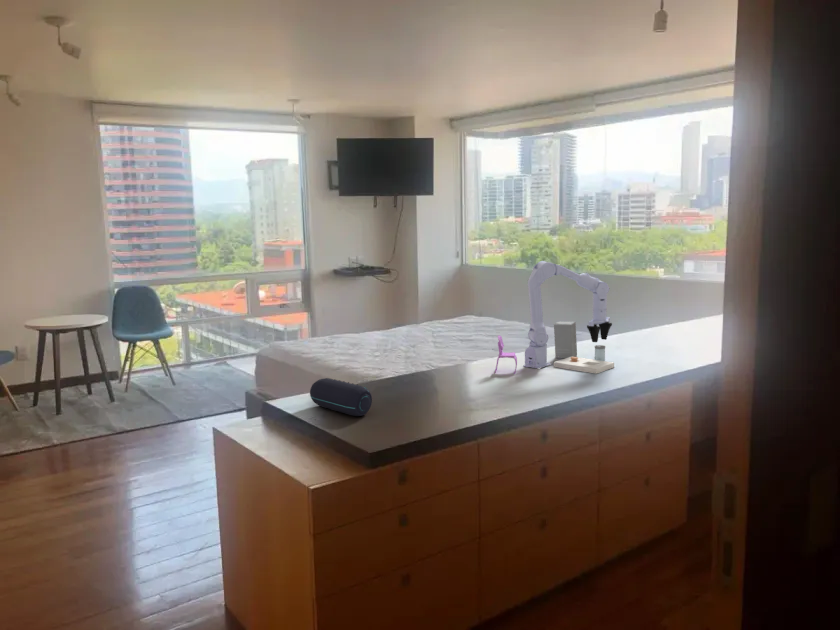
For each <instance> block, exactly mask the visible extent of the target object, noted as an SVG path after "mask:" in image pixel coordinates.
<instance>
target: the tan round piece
mask: <svg viewBox="0 0 840 630" xmlns="http://www.w3.org/2000/svg"><path fill="white" fill-rule="evenodd" d="M577 359H578V356H576V357H571V361H572V362H577Z"/></svg>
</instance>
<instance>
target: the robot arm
mask: <svg viewBox="0 0 840 630" xmlns="http://www.w3.org/2000/svg"><path fill="white" fill-rule="evenodd" d="M560 275H561V276H563V277H565V278H568V279H570V280H572V281H574V282H576V285H577V286H578V287H581V288H582V289H585V290H587V291H590V292H592V319H591V320H589V321H588V324H587V325H586V328H587V330H588V332H589V334H590V338H591V342H592V343H598V341H599V334H600V339H601V340H603V341H604V340H607V338H608V335H609V332H610V329H611V327H612V325H613V323H612V322H611V317H610V316H607V315H608V314H607V312H608V311H607V309H608V294H609V292H610V287H609V285H608V282H606V281H602V280H600V278H598V277H594V276H591V275H590V273H588V272H585V273H584V272H582V273H580V274H579V273H578V272H575V271H573V270H571V269H569V268H567V267H565V266H563V265H561V264H560V265H559V264H557V263H553V262H551V261H549V262H548V261H545V260H541V261H538V262H537V263H536V264H535V265H534V266H533V267H532V271H531V274H529V278H528V280H527V287H528V288H527V289H528V299H529V302H528V303H529V313H530V324H529V331H528V332H527V333H528V334H527V337H528V339H529V346H528V347H526V349H525V350H524V364H523V367H527V368H533V369H542V368H544V367H545V368H546V367H548V366H552V363H550V362H547V359H548V347H547V343H548V341H549V334H548V333H547V331H546V326H545V322H544V314H543V302H542V301H543V300H542V291H541V290H542V288H541V286H542V284H544V282H545V281H547V280H548V279H550V278H552V277H554V276H560Z"/></svg>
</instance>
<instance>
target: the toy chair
mask: <svg viewBox="0 0 840 630" xmlns="http://www.w3.org/2000/svg"><path fill="white" fill-rule="evenodd" d="M497 339H498V342H497V348H498V355H497V356H498V357H497V360H496V366H495V369H494V370H495V371H494V374H496V373H497V369H498V365H499V361H500V360H499V359H502V358H504V359H505V358H509V359H514V362H515V369H514V374H516V372H517V366H518V358H517V355H516V352H515V351H514V352H504V351H503V349H504V347H505V344H504V341H503V337H502V336H501V335H497Z"/></svg>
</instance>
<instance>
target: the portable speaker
mask: <svg viewBox="0 0 840 630" xmlns="http://www.w3.org/2000/svg"><path fill="white" fill-rule="evenodd" d="M309 390H310V391H309V395H310V399H311V400H312V402H313V403H314V404H316V405H318V406H320V407H322V408H325V409H329V410H331V411H335V412H338V413H343V414H345V415H349V416H353V417H360V416H364V415H366V414H367V413H368V412H369V411H370V408H371V406H372V403H373V397H372V393H371V391H370V390H369V389H368V388H367V387H365V386H362V385H359V384H355V383H350V382H349V381H348V382H345V381H342V380H338V379H336V378H335V379H332V378H328V377H327V378H320V379H318V380H316V381H314V383H312V385H311V387H310V389H309Z"/></svg>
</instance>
